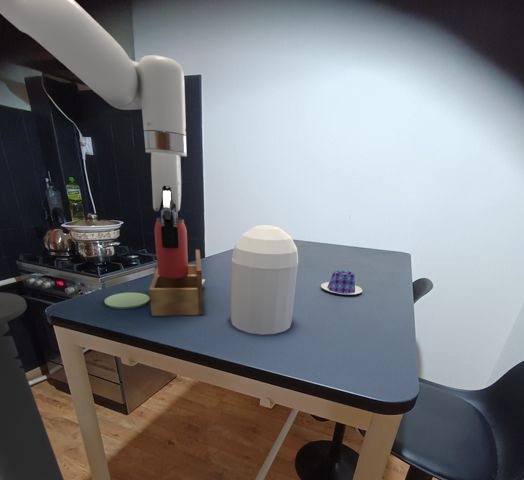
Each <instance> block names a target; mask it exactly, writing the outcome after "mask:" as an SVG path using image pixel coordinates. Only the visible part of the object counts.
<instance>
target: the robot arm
mask: <svg viewBox="0 0 524 480" xmlns="http://www.w3.org/2000/svg"><path fill="white" fill-rule="evenodd" d="M0 15H2V17H4V18H5V19H6V20H7V21H8V22H9V23H11V25H13V26H14V27H15V28H17V29H18V31H20V32H22V33H24V34H26V35H28V36H29V37H31V38H32V39H33V40H35V42H37V43H38V44H39V45H41V46H42V47H43V48H44V49H45V50H46V51H47V52H48V53H50V54H51V55H52V56H53V57H55V59H56V60H58V61H59V62H60V63H61V64H63V65H64V66H65V67H66V68H67V69H68V70H70V71H71V73H73V74H74V75H75V76H76V77H77V78H78V79H79V80H81V81H82V82H83V83H84V84H85V85H86V86H87V87H89V89H91V90H92V91H93V92H94V93H95V94H96V95H98V96H99V97H101V99H103V100H104V101H105V102H106V103H108V105H110V106H111V107H112V108H113V107H114V108H115V109H118V110H123V111H125V110H126V111H132V110H134V111H135V110H141V115H142V116H141V117H142V128H143V140H144V149H145V150H144V151H145V153H146V154H150V171H151V173H150V174H151V189H152V208H153V211H155V212H158V211H159V210H160V217H161V222H162V227H161V235H162V247H163V248H178V247H179V242H178V227H176V218H179V215H178V214H179V213H178V212H180V210H181V202H182V167H181V158H182V157H183V158H184V157H185V158H186V157H188V153H187V151H188V150H187V123H186V122H187V121H186V91H185V90H186V88H185V72H184V70H183V69H184V68H183V67H182V65H181V64H180V63H179V62H178V61H176V60H175V59H173V58H170V57H167V56H163V55H157V54H149V55H144V56H143V57H141V58H140V60H139V61H134V60H132V59H131V58H130V56H129V55H128V53H127V52H126V51H125V49H124V48H123V47H122V46H121V45H120V44H119V42H118V41H117V40H115V38H114V37H113V36H112V35H111V34H110V33H109V32H108V31H106V30H105V28H103V27H102V25H100V24H99V22H97V20H95V19H94V18H93V17H92V15H90V14H89V13H88V12H87V11H86V10H85V9H84V8H83V7H82V6H81V5H80V4H79V3H78V2H77V1H76V0H0Z"/></svg>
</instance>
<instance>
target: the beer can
mask: <svg viewBox="0 0 524 480" xmlns="http://www.w3.org/2000/svg"><path fill="white" fill-rule="evenodd" d="M155 220H156V221H155V224H154V240H155V241H154V244H155V256H156V269H158V275H159V276H160V277H162V278H164V279H170V280H177V279H183V278H185V277H187V276H188V265H189V255H188V253H189V252H188V231H187V227H186V224H185V219H183V218H179V217H178V218H176V227H178V242H179V247H178V248H163V247H162V235H161V227H162V222H161V216H160V217H156V219H155Z"/></svg>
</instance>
